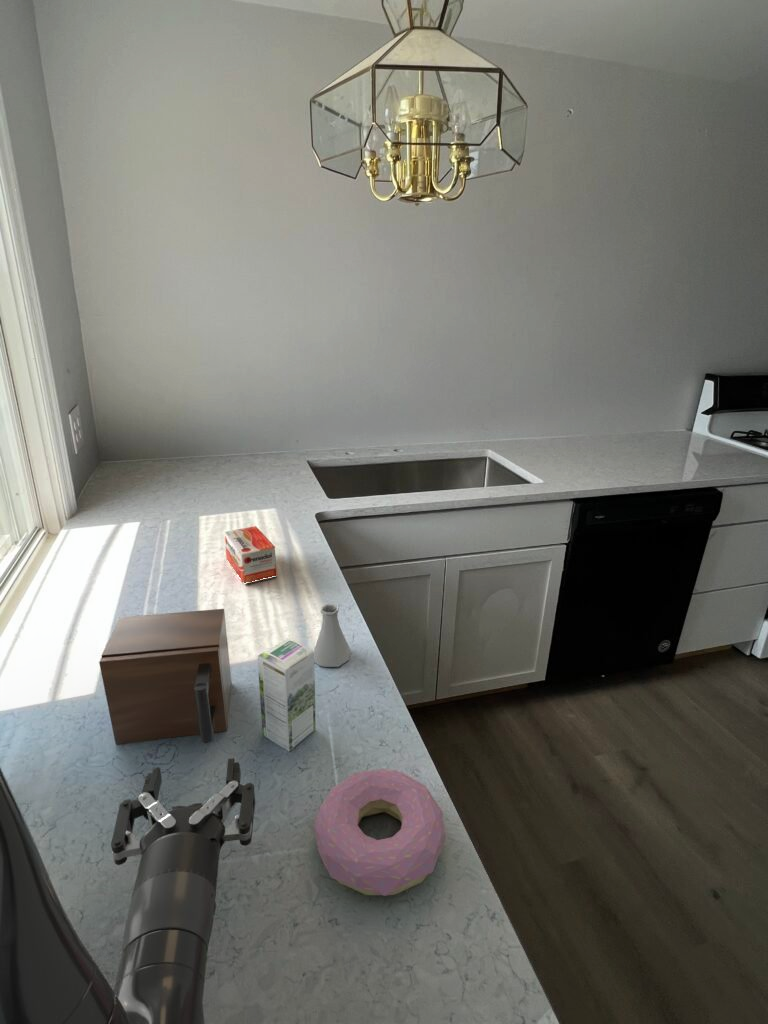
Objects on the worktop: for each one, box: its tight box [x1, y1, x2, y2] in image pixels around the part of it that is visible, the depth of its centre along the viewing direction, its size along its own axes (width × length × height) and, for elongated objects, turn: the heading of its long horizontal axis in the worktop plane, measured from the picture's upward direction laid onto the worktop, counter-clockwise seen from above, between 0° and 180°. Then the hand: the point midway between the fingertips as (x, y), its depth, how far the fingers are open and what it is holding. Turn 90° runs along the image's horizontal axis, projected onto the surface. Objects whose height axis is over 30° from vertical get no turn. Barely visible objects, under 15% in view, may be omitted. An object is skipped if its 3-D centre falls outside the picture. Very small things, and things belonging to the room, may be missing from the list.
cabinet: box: [101, 608, 233, 726], centre depth 85 cm, size 10×16×15 cm, turn 101°
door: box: [98, 647, 228, 745], centre depth 77 cm, size 7×16×14 cm, turn 101°
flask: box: [312, 603, 351, 668], centre depth 99 cm, size 7×7×10 cm
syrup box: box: [257, 637, 317, 752], centre depth 80 cm, size 6×6×14 cm
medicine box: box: [223, 525, 278, 583], centre depth 132 cm, size 15×8×8 cm, turn 30°
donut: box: [313, 768, 446, 897], centre depth 66 cm, size 16×15×5 cm
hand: (195, 768), depth 67 cm, fingers open, 8 cm apart
